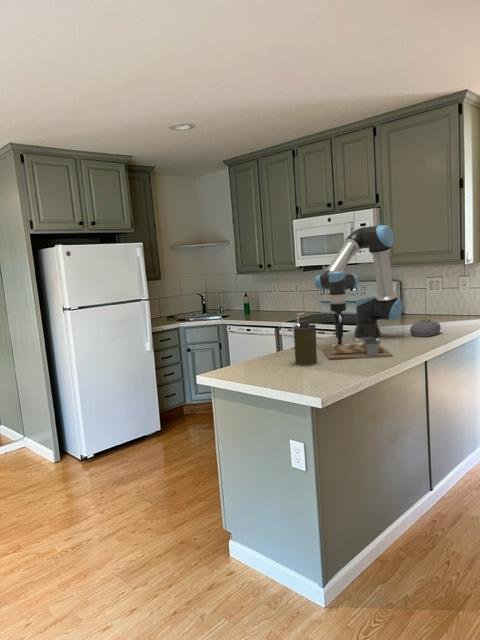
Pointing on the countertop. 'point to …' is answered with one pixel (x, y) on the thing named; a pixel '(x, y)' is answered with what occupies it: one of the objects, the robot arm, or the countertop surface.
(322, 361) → the countertop surface
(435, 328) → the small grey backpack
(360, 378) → the countertop surface
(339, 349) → the link
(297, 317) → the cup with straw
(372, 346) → the block
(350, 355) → the base plate
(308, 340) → the canister
